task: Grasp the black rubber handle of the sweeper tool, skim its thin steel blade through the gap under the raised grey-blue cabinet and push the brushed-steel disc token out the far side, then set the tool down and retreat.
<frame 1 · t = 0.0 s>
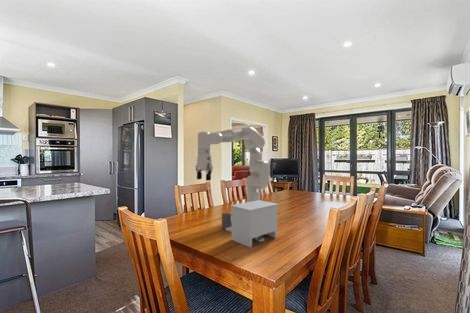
hand: (203, 179, 143), 31 cm above the table, fingers open, 9 cm apart
cabinet: (254, 238, 129), on the table
blade tool: (226, 228, 147), on the table
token: (260, 240, 126), on the table
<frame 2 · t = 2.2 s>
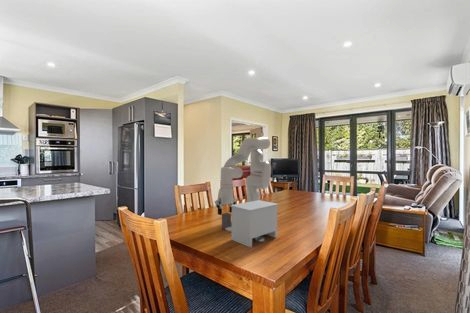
hand: (225, 213, 147), 9 cm above the table, fingers open, 9 cm apart
nothing on the table moved.
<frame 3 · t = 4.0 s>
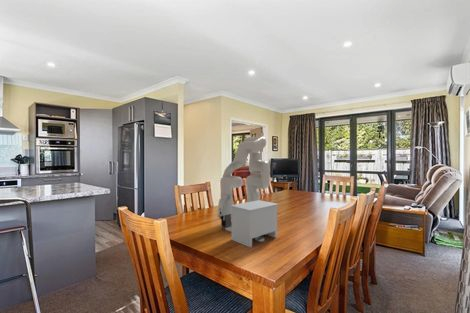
hand: (226, 225, 147), 2 cm above the table, fingers closed on blade tool, 4 cm apart
blade tool: (226, 228, 147), on the table, touching gripper
everything else where it was.
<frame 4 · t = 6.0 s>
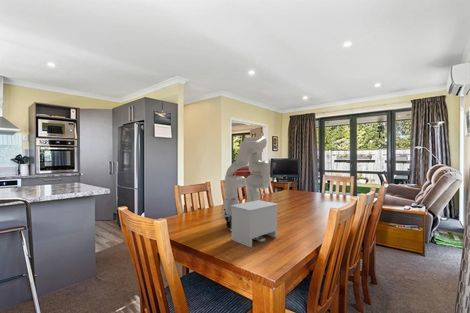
hand: (231, 226, 144), 2 cm above the table, fingers closed on blade tool, 4 cm apart
blade tool: (231, 229, 144), on the table, touching gripper
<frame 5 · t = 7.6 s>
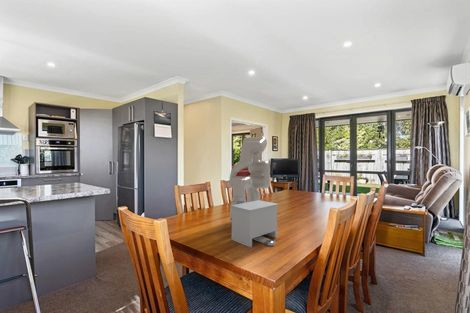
hand: (238, 228, 139), 2 cm above the table, fingers closed on blade tool, 4 cm apart
blade tool: (238, 231, 139), on the table, touching gripper
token: (270, 244, 121), on the table
when the fingers open (2 cm above the table, at t = 9.8 s): blade tool stays where it is, on the table.
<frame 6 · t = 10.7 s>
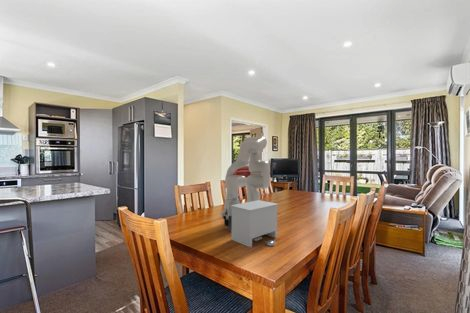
hand: (232, 224, 144), 3 cm above the table, fingers open, 9 cm apart
blade tool: (232, 230, 143), on the table
everything else where it was.
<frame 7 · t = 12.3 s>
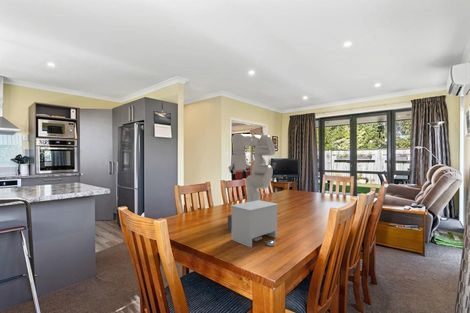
hand: (239, 179, 152), 31 cm above the table, fingers open, 9 cm apart
nothing on the table moved.
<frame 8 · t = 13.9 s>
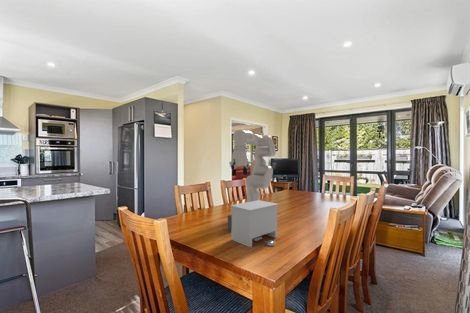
hand: (239, 174, 153), 33 cm above the table, fingers open, 9 cm apart
nothing on the table moved.
at the end: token inside the target area (6.6 cm from its centre), on the table; the gripper is holding nothing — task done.
